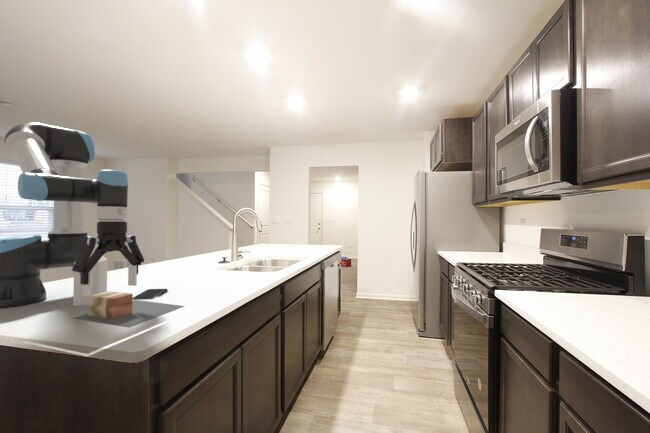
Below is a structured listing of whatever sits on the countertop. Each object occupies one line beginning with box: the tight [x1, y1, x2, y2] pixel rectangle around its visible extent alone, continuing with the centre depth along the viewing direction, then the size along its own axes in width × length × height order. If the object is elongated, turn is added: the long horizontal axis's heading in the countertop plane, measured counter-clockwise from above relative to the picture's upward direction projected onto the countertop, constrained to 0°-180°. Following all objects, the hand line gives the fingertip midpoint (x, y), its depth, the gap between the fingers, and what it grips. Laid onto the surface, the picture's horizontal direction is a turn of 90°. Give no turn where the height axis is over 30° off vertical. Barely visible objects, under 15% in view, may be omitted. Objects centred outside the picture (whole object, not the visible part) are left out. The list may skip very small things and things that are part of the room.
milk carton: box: [72, 247, 108, 307], centre depth 101 cm, size 7×7×19 cm
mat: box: [73, 299, 185, 328], centre depth 91 cm, size 22×20×1 cm
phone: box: [132, 288, 169, 301], centre depth 112 cm, size 8×1×15 cm
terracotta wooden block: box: [88, 290, 134, 319], centre depth 89 cm, size 10×6×6 cm, turn 73°
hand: (111, 290), depth 88 cm, fingers open, 13 cm apart
